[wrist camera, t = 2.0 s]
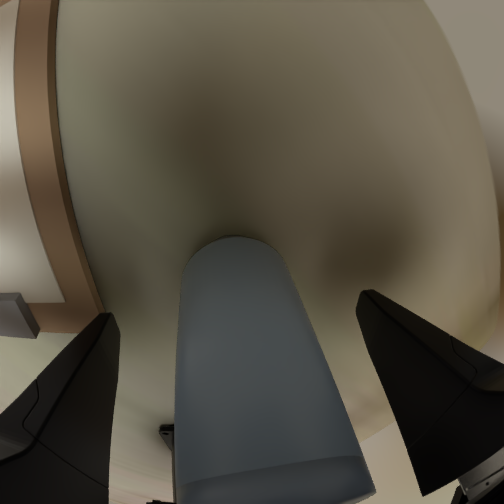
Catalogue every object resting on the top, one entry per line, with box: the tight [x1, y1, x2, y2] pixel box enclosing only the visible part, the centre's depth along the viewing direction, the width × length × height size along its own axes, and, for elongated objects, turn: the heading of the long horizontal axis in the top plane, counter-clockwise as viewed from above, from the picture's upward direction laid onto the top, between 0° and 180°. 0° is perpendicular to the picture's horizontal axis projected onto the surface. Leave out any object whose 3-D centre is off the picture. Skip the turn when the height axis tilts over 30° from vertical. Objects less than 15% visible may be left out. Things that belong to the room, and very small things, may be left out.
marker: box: [174, 235, 376, 504], centre depth 8 cm, size 4×4×9 cm
